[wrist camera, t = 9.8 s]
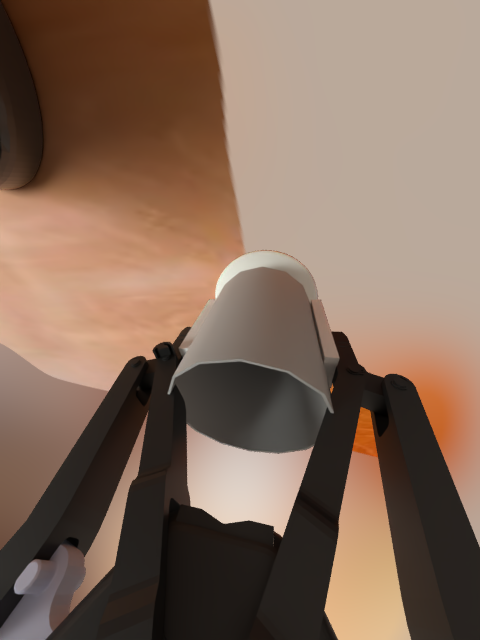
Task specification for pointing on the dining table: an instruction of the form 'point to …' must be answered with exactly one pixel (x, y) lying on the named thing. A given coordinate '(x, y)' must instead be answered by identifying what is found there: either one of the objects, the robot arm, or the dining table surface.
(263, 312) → the cup
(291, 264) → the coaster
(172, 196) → the dining table surface
